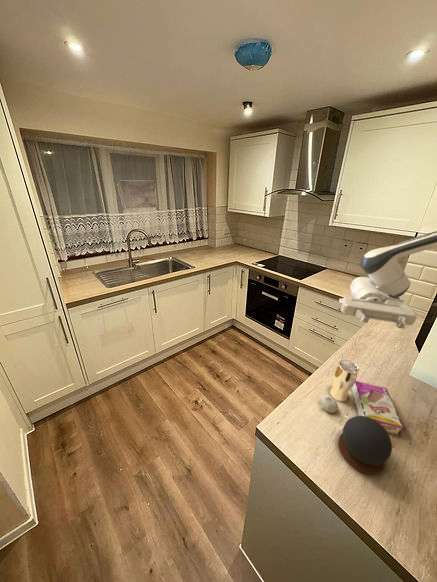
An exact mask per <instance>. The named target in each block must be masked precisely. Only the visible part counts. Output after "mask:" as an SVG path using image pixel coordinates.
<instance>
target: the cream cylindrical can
mask: <svg viewBox="0 0 437 582" xmlns="http://www.w3.org/2000/svg"><path fill="white" fill-rule="evenodd" d="M359 372H360V368H359V366H358V365H357V364H356V363H355V362H353V361H351V360H347V359H340V360H339V361H338V364H337V365H336V368H335V371H334V374H333V384H332V387H331V389H330V392H329V394H330V396H331V397H332V398H333V399H334V400H335V401H338V402H346V401H347V399H348V394H349V393H350V391H351V390H352V387H353V385H354V383H355V381H357V378H358V376H359Z"/></svg>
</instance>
